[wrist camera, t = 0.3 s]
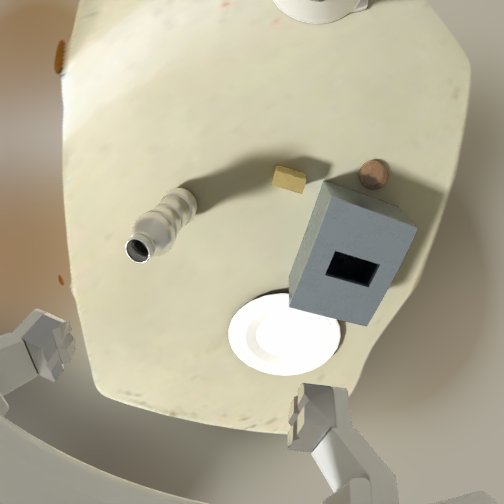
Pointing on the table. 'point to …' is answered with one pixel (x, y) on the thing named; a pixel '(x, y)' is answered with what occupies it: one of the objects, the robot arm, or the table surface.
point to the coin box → (348, 255)
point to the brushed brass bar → (289, 179)
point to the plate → (282, 336)
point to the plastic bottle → (161, 225)
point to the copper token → (373, 174)
